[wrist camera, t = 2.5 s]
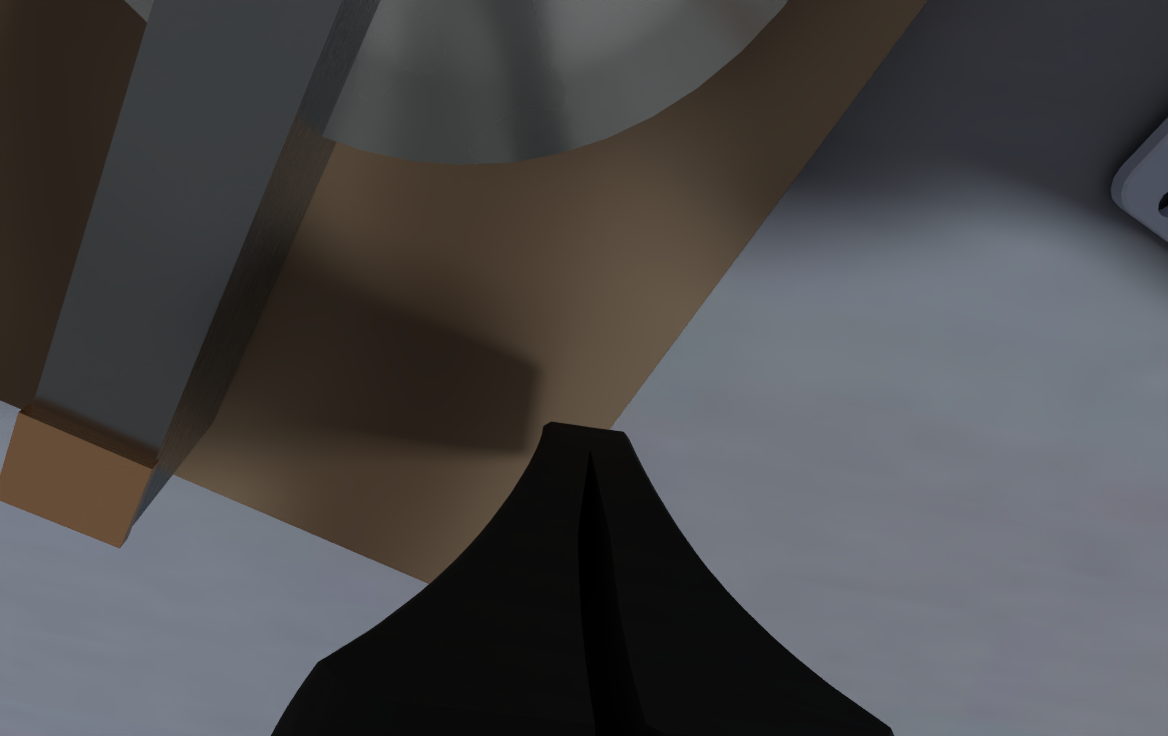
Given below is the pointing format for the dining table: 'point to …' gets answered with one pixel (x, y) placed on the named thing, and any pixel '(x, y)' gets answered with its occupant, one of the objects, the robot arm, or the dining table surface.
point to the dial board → (432, 273)
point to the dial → (299, 188)
